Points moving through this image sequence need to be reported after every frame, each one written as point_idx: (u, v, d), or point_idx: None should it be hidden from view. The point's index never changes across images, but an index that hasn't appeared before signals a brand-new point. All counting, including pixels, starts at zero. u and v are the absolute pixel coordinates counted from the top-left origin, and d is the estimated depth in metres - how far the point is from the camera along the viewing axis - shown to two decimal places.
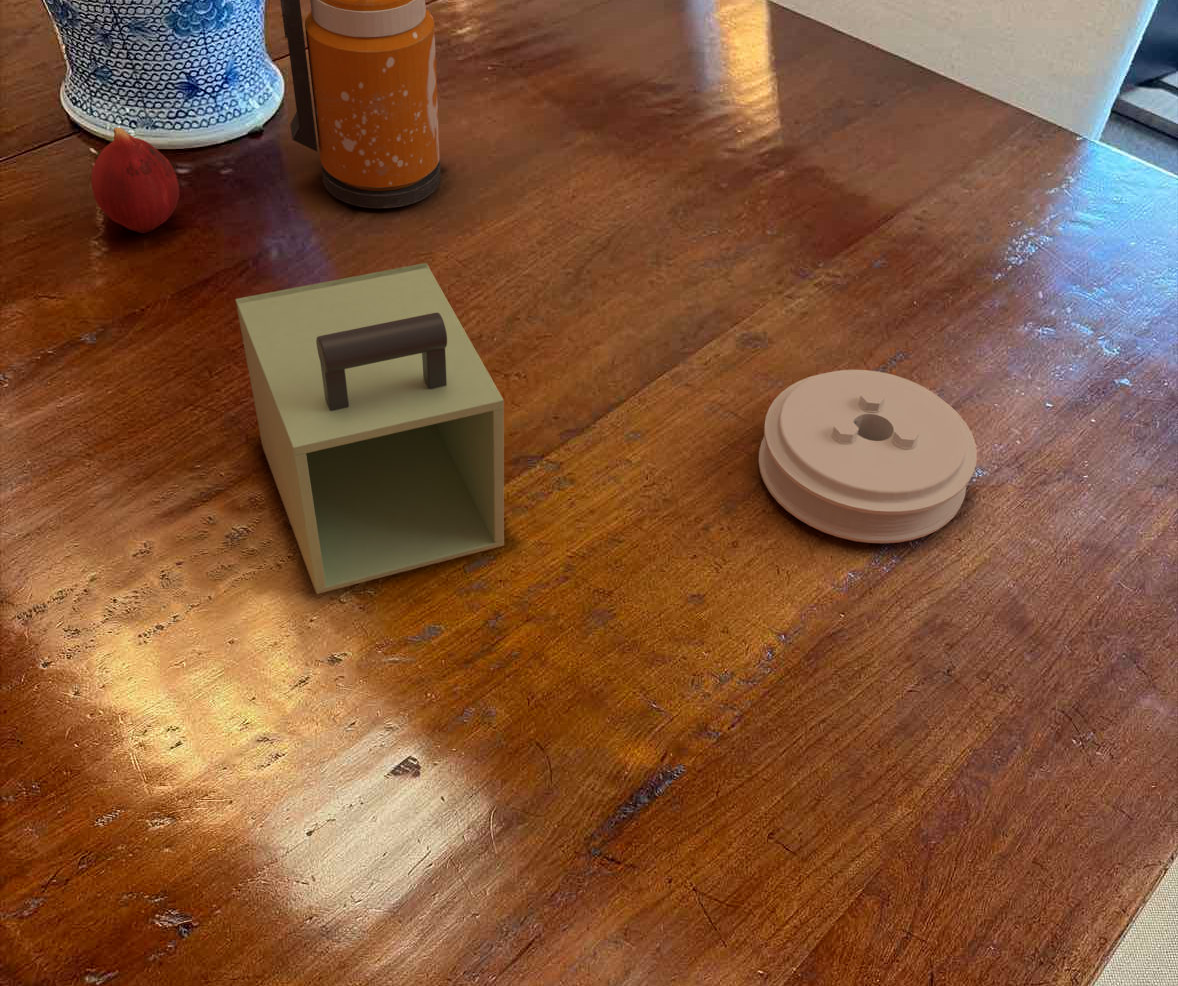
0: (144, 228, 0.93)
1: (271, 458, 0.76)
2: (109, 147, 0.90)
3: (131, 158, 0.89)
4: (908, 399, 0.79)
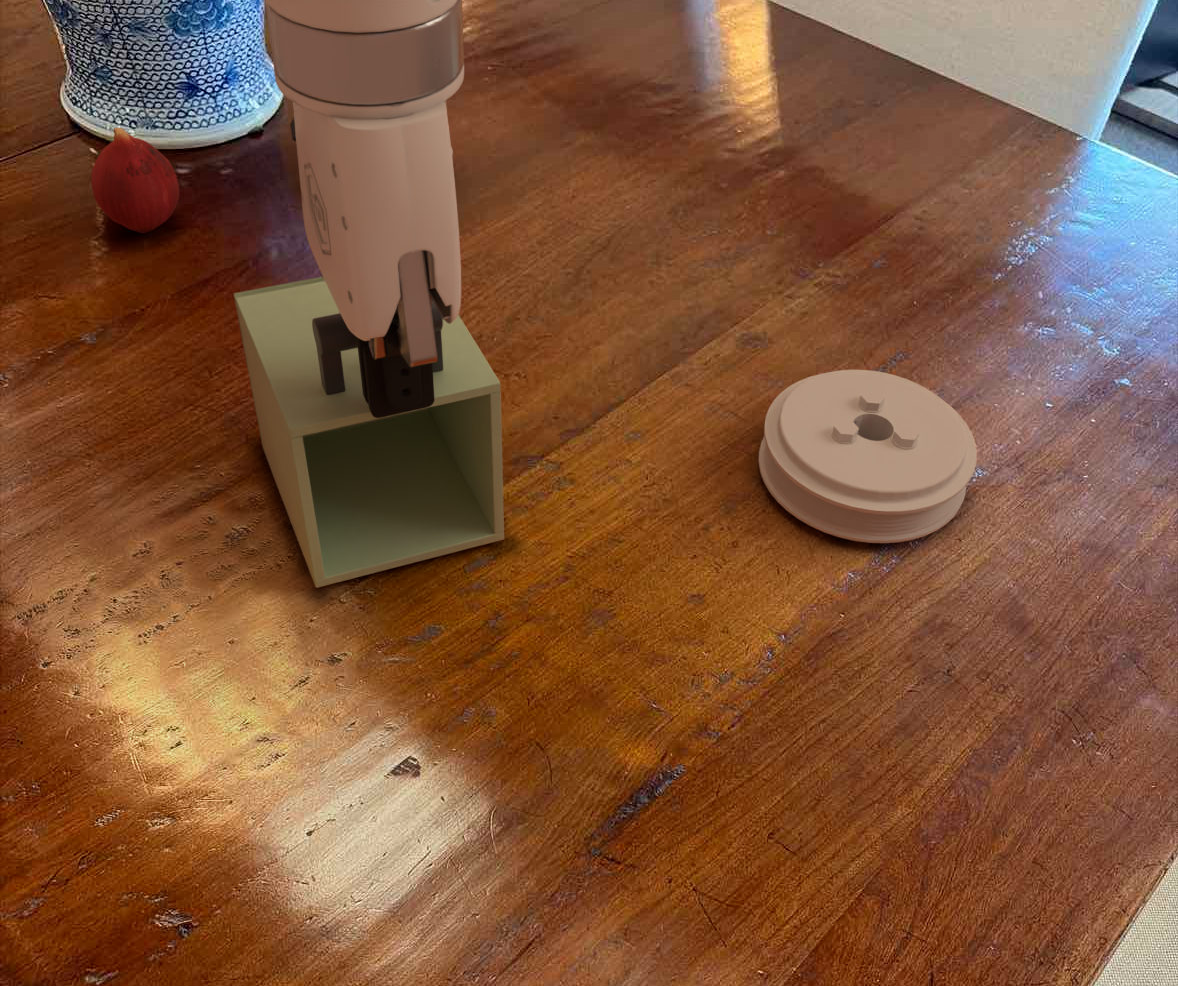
0: (144, 228, 0.93)
1: (270, 454, 0.76)
2: (109, 147, 0.90)
3: (131, 158, 0.89)
4: (908, 399, 0.79)
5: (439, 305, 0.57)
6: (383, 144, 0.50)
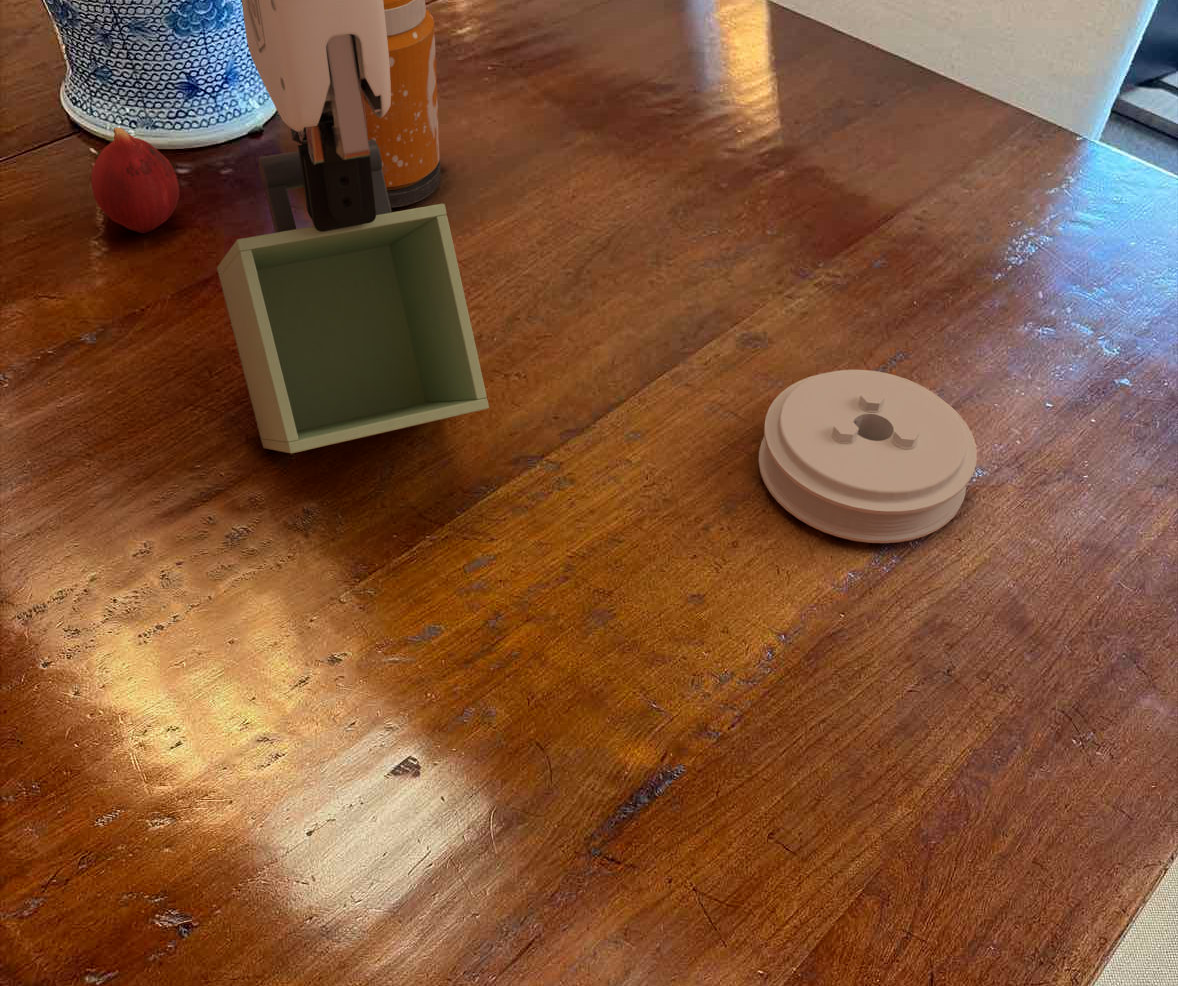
0: (144, 228, 0.93)
1: (260, 412, 0.76)
2: (109, 147, 0.90)
3: (131, 158, 0.89)
4: (908, 399, 0.79)
5: (371, 101, 0.60)
6: None
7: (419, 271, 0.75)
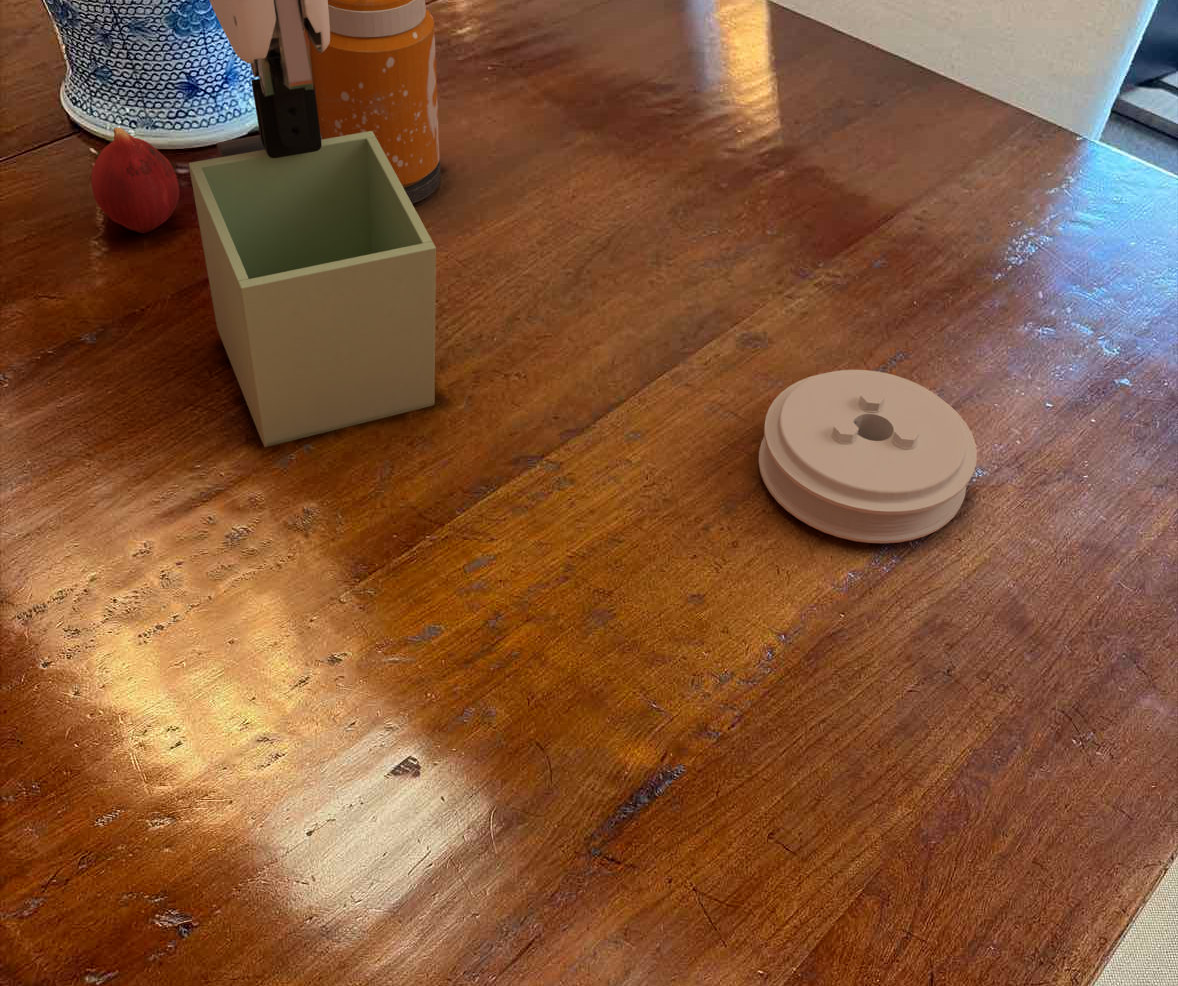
0: (144, 228, 0.93)
1: (248, 383, 0.78)
2: (109, 147, 0.90)
3: (131, 158, 0.89)
4: (908, 399, 0.79)
5: (313, 38, 0.69)
6: None
7: (380, 244, 0.82)
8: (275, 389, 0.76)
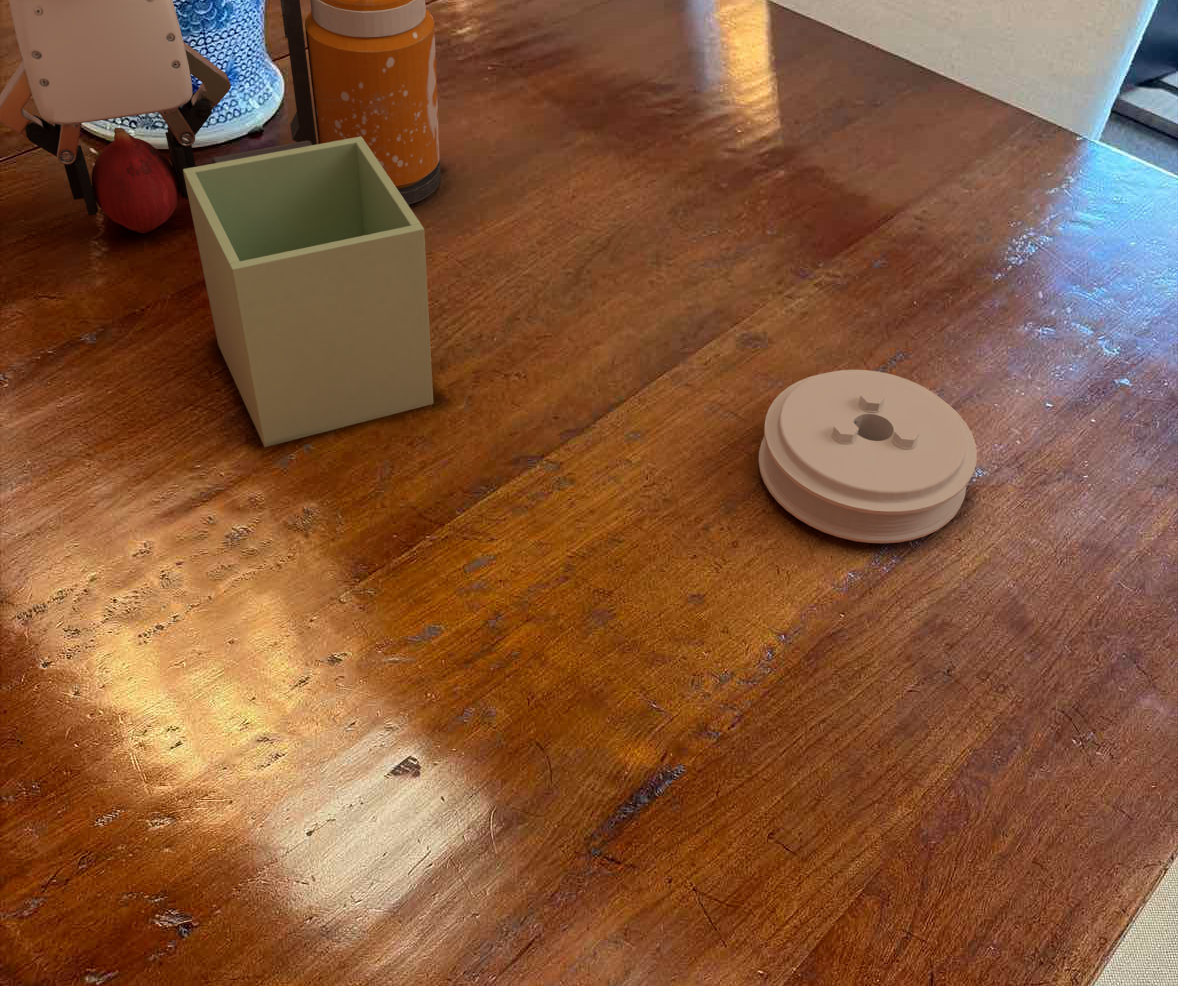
0: (144, 228, 0.93)
1: (246, 382, 0.78)
2: (110, 147, 0.90)
3: (131, 158, 0.89)
4: (908, 399, 0.79)
5: None
6: None
7: None
8: (272, 382, 0.76)
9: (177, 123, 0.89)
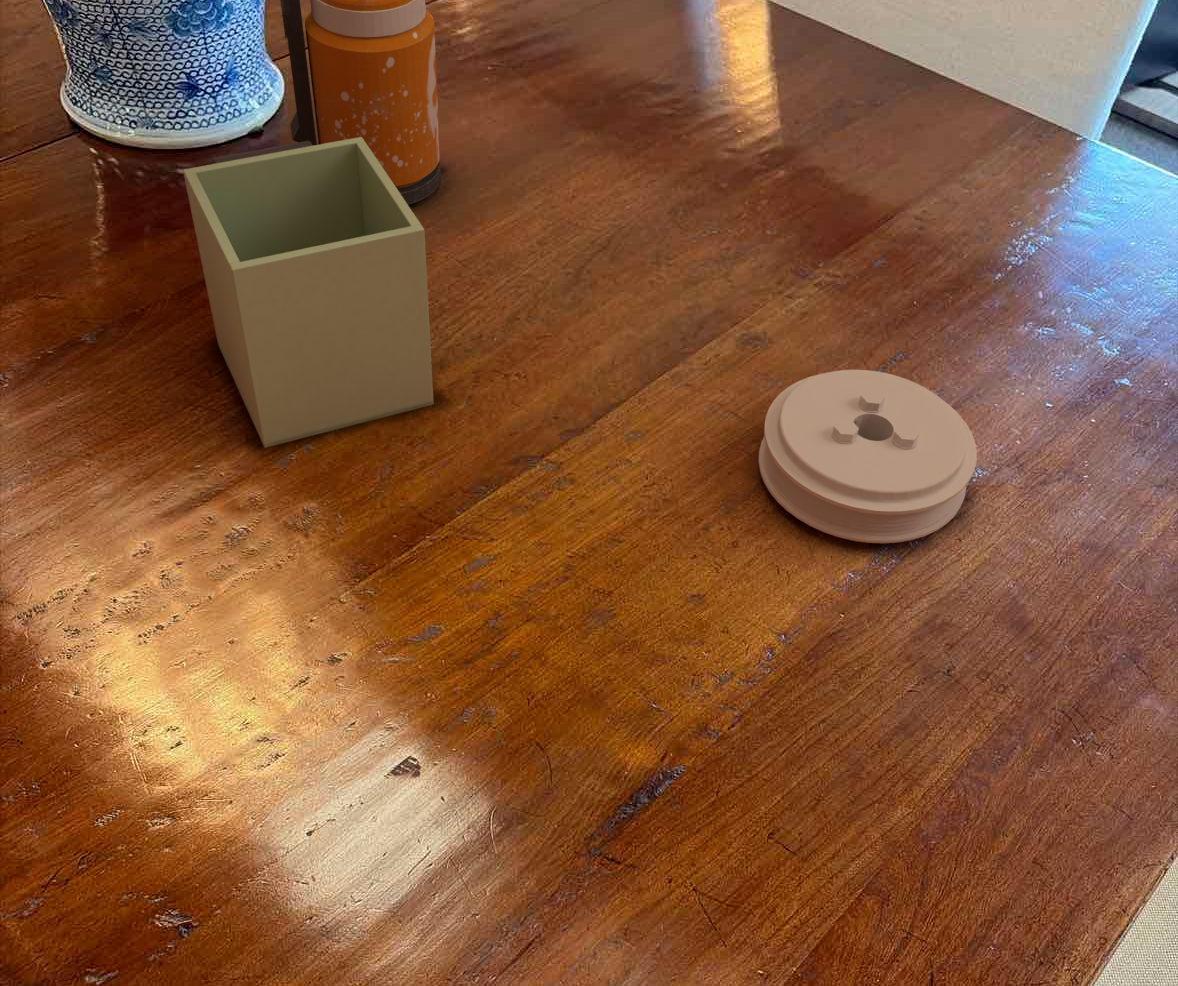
0: None
1: (246, 383, 0.78)
2: None
3: None
4: (908, 399, 0.79)
5: None
6: None
7: None
8: (272, 382, 0.76)
9: None
